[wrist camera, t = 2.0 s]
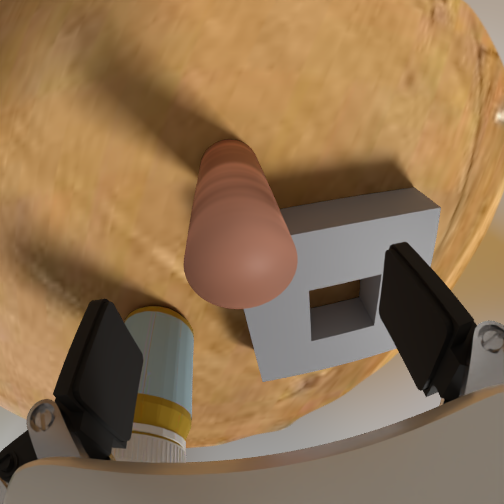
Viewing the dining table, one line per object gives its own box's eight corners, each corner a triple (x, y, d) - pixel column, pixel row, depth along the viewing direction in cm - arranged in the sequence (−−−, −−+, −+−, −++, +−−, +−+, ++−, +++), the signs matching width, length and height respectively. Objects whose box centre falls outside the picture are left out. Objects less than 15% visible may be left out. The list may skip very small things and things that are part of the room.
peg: (194, 146, 20) (169, 228, 10) (252, 134, 20) (291, 204, 10) (207, 198, 22) (200, 316, 12) (261, 187, 22) (301, 297, 12)
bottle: (118, 300, 26) (80, 451, 14) (191, 302, 27) (186, 464, 14) (132, 348, 30) (112, 478, 17) (195, 350, 31) (196, 487, 18)
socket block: (226, 219, 23) (228, 247, 20) (414, 187, 23) (440, 207, 19) (258, 351, 32) (262, 381, 28) (394, 318, 32) (409, 343, 28)
